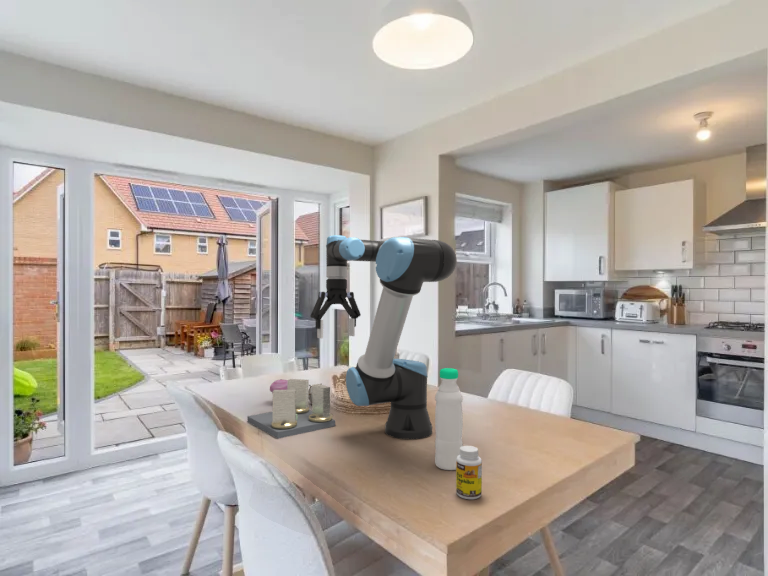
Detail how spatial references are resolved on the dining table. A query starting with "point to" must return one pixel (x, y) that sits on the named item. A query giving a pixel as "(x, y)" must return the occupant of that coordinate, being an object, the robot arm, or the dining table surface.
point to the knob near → (284, 409)
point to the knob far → (300, 394)
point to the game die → (310, 394)
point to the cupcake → (279, 385)
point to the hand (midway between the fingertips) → (336, 337)
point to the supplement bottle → (468, 473)
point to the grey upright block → (320, 404)
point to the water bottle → (448, 420)
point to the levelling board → (303, 426)
